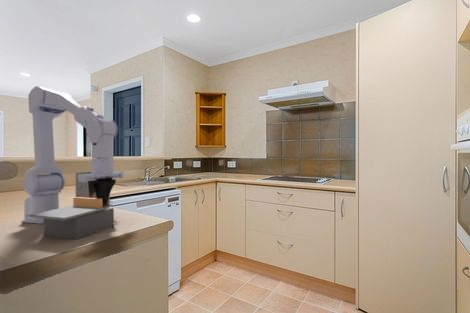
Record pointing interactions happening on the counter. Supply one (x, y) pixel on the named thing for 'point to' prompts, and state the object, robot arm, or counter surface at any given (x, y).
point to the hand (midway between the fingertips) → (103, 203)
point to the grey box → (80, 225)
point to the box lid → (73, 209)
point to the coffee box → (87, 189)
